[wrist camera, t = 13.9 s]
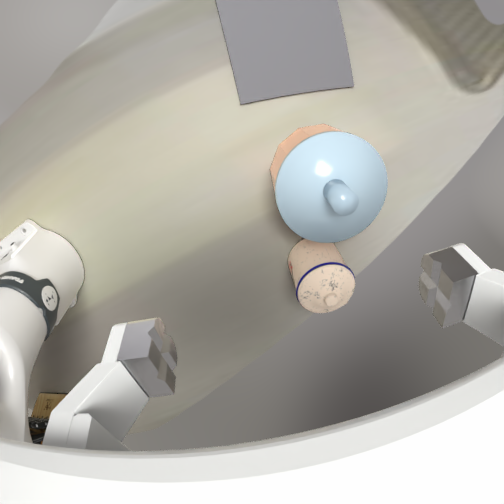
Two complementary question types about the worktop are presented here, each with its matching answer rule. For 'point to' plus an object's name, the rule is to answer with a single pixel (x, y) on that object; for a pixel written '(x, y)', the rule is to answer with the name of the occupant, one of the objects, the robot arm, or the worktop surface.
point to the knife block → (42, 415)
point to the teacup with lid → (320, 276)
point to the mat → (285, 46)
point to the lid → (331, 186)
